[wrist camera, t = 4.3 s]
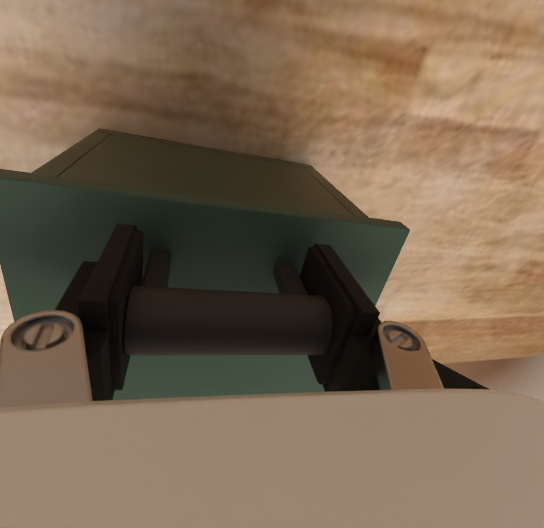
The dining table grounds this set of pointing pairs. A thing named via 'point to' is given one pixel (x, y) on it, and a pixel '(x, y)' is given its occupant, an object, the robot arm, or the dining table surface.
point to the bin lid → (193, 279)
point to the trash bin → (197, 172)
